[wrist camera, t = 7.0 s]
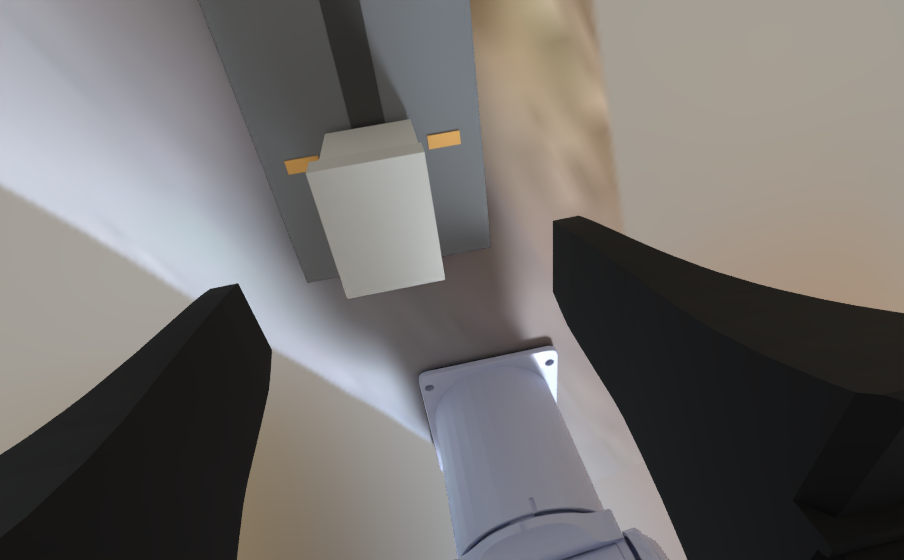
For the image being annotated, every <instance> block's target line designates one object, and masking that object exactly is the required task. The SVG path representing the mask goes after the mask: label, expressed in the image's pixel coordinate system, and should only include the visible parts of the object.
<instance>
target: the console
mask: <svg viewBox="0 0 904 560" xmlns="http://www.w3.org/2000/svg"><path fill="white" fill-rule="evenodd" d="M198 1H199V4H200V6H201V9H202V11H203V14H204V16H205V19H206V22H207V24H208V27H209V29H210V32H211V35H212V37H213V40H214V42H215V45H216V48H217V50H218V53H219V55H220V58H221V60H222V63H223V66H224V68H225V71H226V73H227V76H228V79H229V81H230V84H231V86H232V89H233V92H234V94H235V97H236V99H237V102H238V104H239V107H240V110H241V112H242V115H243V117H244V120H245V123H246V125H247V128H248V130H249V133H250V136H251V138H252V141H253V143H254V146H255V149H256V151H257V154H258V156H259V159H260V161H261V164H262V167H263V169H264V172H265V174H266V177H267V180H268V182H269V185H270V187H271V190H272V193H273V195H274V198H275V200H276V203H277V205H278V208H279V211H280V213H281V216H282V218H283V221H284V224H285V226H286V229H287V231H288V234H289V237H290V239H291V242H292V244H293V247H294V249H295V252H296V255H297V257H298V260H299V262H300V265H301V268H302V270H303V273H304V275H305V278H306V281H307V283H310V282H315V281H320V280H325V279H330V278H335V277H340V276H339V273H338V270H337V267H336V264H335V261H334V258H333V255H332V252H331V249H330V245H329V242H328V239H327V236H326V233H325V230H324V227H323V224H322V221H321V218H320V215H319V212H318V209H317V206H316V203H315V200H314V197H313V194H312V191H311V188H310V185H309V182H308V179H307V176H306V170H307V167H308V163H309V162H312V161H318V160H319V158H320V153H321V149H322V145H323V140H324V136H325V134H327V133H333V132H339V131H344V130H350V129H356V128H362V127H367V126H373V125H379V124H385V123H390V122H396V121H402V120H407V119H411V122H412V125H413V128H414V131H415V134H416V137H417V140H418V143H419V142H421V143H422V146H423V149H424V152H425V158H426V164H427V170H428V177H429V183H430V189H431V195H432V201H433V207H434V213H435V219H436V226H437V232H438V238H439V244H440V250H441V256H442V257H443V256H448V255H453V254H458V253H464V252H469V251H474V250H479V249H484V248H489V247H491V244H490V232H489V221H488V209H487V198H486V186H485V174H484V163H483V151H482V139H481V128H480V116H479V104H478V93H477V81H476V70H475V58H474V46H473V35H472V23H471V11H470V0H198Z"/></svg>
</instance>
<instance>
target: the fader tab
mask: <svg viewBox="0 0 904 560" xmlns="http://www.w3.org/2000/svg"><path fill="white" fill-rule="evenodd" d="M306 176H307V179H308V182H309V185H310V188H311V191H312V194H313V197H314V200H315V203H316V206H317V209H318V212H319V215H320V218H321V221H322V224H323V227H324V230H325V233H326V236H327V239H328V242H329V245H330V249H331V252H332V255H333V258H334V261H335V264H336V267H337V270H338V273H339V276H340V279H341V282H342V285H343V288H344V291H345V294H346V297H347V299H351V298H356V297H361V296H366V295H371V294H376V293H381V292H386V291H391V290H396V289H401V288H406V287H411V286H416V285H421V284H427V283H432V282H437V281H442V280H445V275H444V269H443V262H442V256H441V250H440V244H439V238H438V232H437V226H436V219H435V213H434V207H433V201H432V195H431V189H430V183H429V177H428V170H427V164H426V158H425V152H424V149H423V146H422V143H421V142H419V143H418V140H417V137H416V134H415V131H414V128H413V125H412V122H411V119H407V120H402V121H396V122H390V123H385V124H379V125H373V126H367V127H362V128H356V129H350V130H344V131H339V132H333V133H327V134H325V136H324V140H323V145H322V149H321V153H320V158H319V160H318V161H312V162H309V163H308V167H307V170H306Z"/></svg>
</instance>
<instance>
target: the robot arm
mask: <svg viewBox="0 0 904 560" xmlns="http://www.w3.org/2000/svg"><path fill="white" fill-rule="evenodd" d="M553 293H554V295H555V298H556V300H557V302H558V305H559V307H560V309H561V312H562V314H563V316H564V318H565V321H566V323H567V325H568V327H569V328H570V330H571V332H572V333H573V335H574V337H575V338H576V340H577V342H578V343H579V345H580V347H581V348H582V350H583V351H584V353H585V355H586V356H587V358H588V360H589V361H590V363H591V364H592V366H593V368H594V369H595V371H596V372H597V374H598V376H599V377H600V379H601V380H602V382H603V384H604V385H605V387H606V388H607V390H608V392H609V393H610V395H611V396H612V398H613V400H614V401H615V403H616V405H617V407H618V409H619V410H620V412H621V414H622V416H623V417H624V419H625V422H626V424H627V426H628V428H629V430H630V432H631V434H632V436H633V438H634V440H635V442H636V444H637V446H638V448H639V451H640V453H641V455H642V457H643V459H644V461H645V463H646V465H647V468H648V470H649V472H650V474H651V476H652V479H653V481H654V483H655V485H656V487H657V490H658V492H659V494H660V496H661V498H662V501H663V503H664V505H665V508H666V510H667V512H668V515H669V517H670V519H671V521H672V524H673V526H674V529H675V530H676V533H677V536H678V538H679V540H680V542H681V545H682V547H683V550H684V552H685V555H686V557H687V560H904V313H898V312H892V311H886V310H880V309H873V308H867V307H860V306H855V305H849V304H845V303H839V302H834V301H828V300H824V299H819V298H814V297H810V296H805V295H801V294H797V293H792V292H788V291H783V290H779V289H775V288H771V287H767V286H763V285H759V284H756V283H752V282H749V281H746V280H742V279H739V278H736V277H732V276H729V275H726V274H722V273H719V272H716V271H713V270H710V269H707V268H704V267H701V266H698V265H696V264H693V263H690V262H688V261H685V260H682V259H680V258H677V257H674V256H672V255H669V254H667V253H665V252H662V251H659V250H657V249H655V248H652V247H650V246H648V245H645V244H643V243H641V242H638V241H636V240H634V239H632V238H630V237H627V236H625V235H623V234H621V233H619V232H616V231H614V230H612V229H610V228H607V227H605V226H603V225H601V224H598V223H596V222H594V221H591V220H589V219H586V218H584V217H581V216H575V217H570V218H565V219H560V220H555V221H553ZM271 354H272V349H271V348H270V346H269V344H268V342H267V340H266V338H265V336H264V334H263V332H262V330H261V328H260V326H259V324H258V322H257V320H256V318H255V316H254V314H253V312H252V310H251V308H250V306H249V304H248V302H247V300H246V298H245V296H244V294H243V292H242V290H241V288H240V286H239V284H233V285H228V286H223V287H218V288H213V289H210V290H208V291H207V292H205V293H204V294H203V295H201V296H200V297H199V298H198V299H196V300H195V301H194V302H193V303H192V304H190V305H189V306H188V307H187V308H186V309H185V310H184V311H182V312H181V313H180V314H179V315H178V316H177V317H176V318H175V319H173V320H172V321H171V322H170V323H169V324H168V325H167V326H166V327H164V328H163V329H162V330H161V331H160V332H159V333H158V334H157V335H156V336H154V337H153V338H152V339H151V340H150V341H149V342H148V343H147V344H145V345H144V346H143V347H142V348H141V349H140V350H139V351H137V352H136V353H135V354H134V355H133V356H132V357H130V358H129V359H128V360H127V361H126V362H124V363H123V364H122V365H121V366H120V367H118V368H117V369H116V370H115V371H114V372H112V373H111V374H110V375H109V376H108V377H106V378H105V379H104V380H103V381H102V382H100V383H99V384H98V385H97V386H96V387H94V388H93V389H92V390H91V391H89V392H88V393H87V394H86V395H84V396H83V397H82V398H80V399H79V400H78V401H76V402H75V403H74V404H72V405H71V406H70V407H69V408H67V409H66V410H65V411H64V412H62V413H60V414H59V415H58V416H56V417H55V418H53V419H52V420H51V421H49V422H48V423H47V424H45V425H44V426H42V427H41V428H40V429H38V430H37V431H35V432H34V433H33V434H31V435H30V436H28V437H27V438H25V439H24V440H22V441H21V442H19V443H18V444H16V445H15V446H13V447H12V448H10V449H9V450H7V451H5V452H4V453H2V454H1V455H0V560H237V551H238V543H239V535H240V527H241V517H242V510H243V503H244V498H245V492H246V487H247V482H248V478H249V473H250V469H251V465H252V460H253V456H254V452H255V448H256V444H257V439H258V435H259V431H260V427H261V422H262V418H263V414H264V409H265V405H266V400H267V396H268V391H269V383H270V372H271V356H272V355H271ZM549 359H550V360H549ZM547 360H548V361H547ZM557 368H558V353H557V350H556V349H555V347H553V346H545V347H540V348H535V349H530V350H526V351H521V352H516V353H511V354H507V355H502V356H497V357H492V358H488V359H483V360H478V361H473V362H469V363H464V364H459V365H454V366H450V367H445V368H440V369H436V370H431V371H426V372H423V373H422V374H420V376H419V385H420V389H421V393H422V397H423V401H424V405H425V409H426V413H427V417H428V421H429V425H430V429H431V433H432V437H433V442H434V446H435V450H436V454H437V458H438V462H439V466H440V469H441V471H443V472H444V478H445V483H446V490H447V496H448V501H449V508H450V514H451V521H452V526H453V533H454V539H455V545H456V551H457V557H458V558H457V559H455V560H669V559H668V557H667V556H666V554H665V553H664V551H663V550H662V548H661V547H660V546H659V545H658V543H657V542H656V541H655V540H653V539H652V538H650V537H648V536H646V535H644V534H642V533H641V532H640V531H639V530H638V529H636V528H631V529H628V530H625V531H623V532H622V533H621V530H620V528H619V526H618V524H617V522H616V520H615V517H614V515H613V513H612V511H611V510H610V509H606V510H604V508H603V506H602V504H601V502H600V499H599V497H598V495H597V493H596V490H595V488H594V486H593V484H592V481H591V479H590V477H589V475H588V473H587V470H586V468H585V466H584V464H583V461H582V459H581V457H580V455H579V453H578V450H577V448H576V446H575V444H574V441H573V439H572V437H571V435H570V433H569V430H568V428H567V426H566V424H565V421H564V419H563V417H562V415H561V413H560V410H559V408H558V406H557ZM428 385H431V386H428ZM622 534H623V535H622Z"/></svg>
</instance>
